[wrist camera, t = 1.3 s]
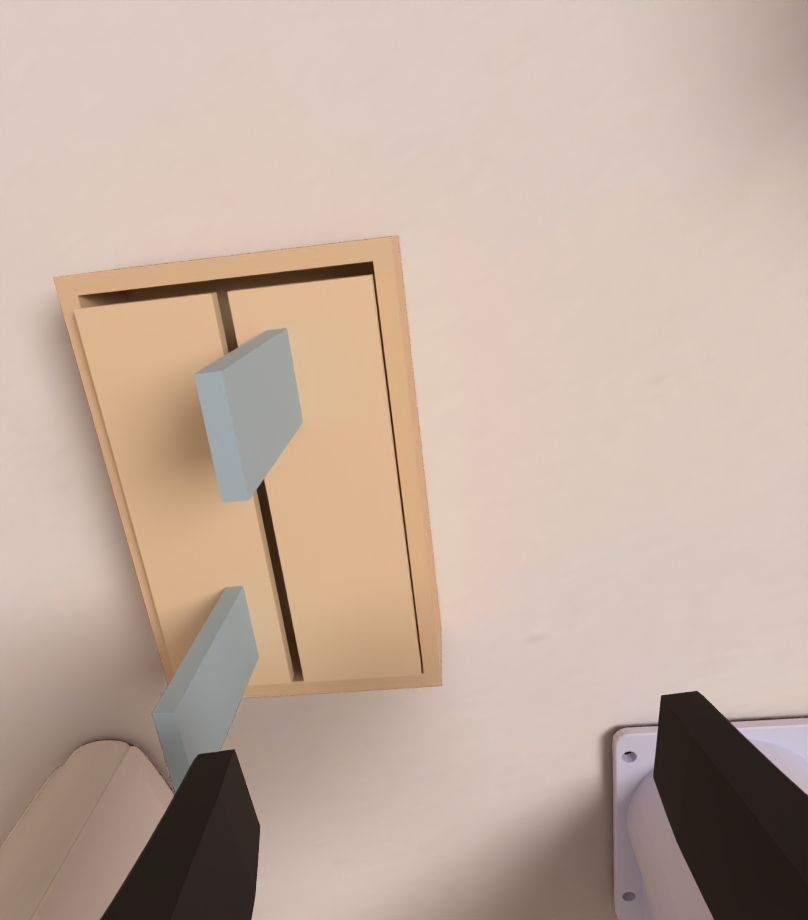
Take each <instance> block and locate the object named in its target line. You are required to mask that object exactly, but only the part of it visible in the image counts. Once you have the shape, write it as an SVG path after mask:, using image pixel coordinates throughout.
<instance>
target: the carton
mask: <svg viewBox="0 0 808 920" xmlns="http://www.w3.org/2000/svg"><path fill="white" fill-rule="evenodd" d="M371 274H372V275H373V283H374V291H375V299H376V307H377V315H378V323H379V331H380V339H381V347H382V355H383V363H384V371H385V379H386V387H387V395H388V403H389V411H390V419H391V427H392V435H393V443H394V451H395V459H396V468H397V476H398V484H399V492H400V500H401V508H402V516H403V524H404V532H405V540H406V548H407V556H408V564H409V572H410V580H411V588H412V596H413V604H414V612H415V620H416V628H417V636H418V644H419V652H420V660H421V675H413V676H397V677H381V678H365V679H349V680H333V681H317V682H304V678H303V673H302V668H301V663H300V658H299V653H298V648H297V642H296V637H295V632H294V627H293V622H292V617H291V612H290V607H289V602H288V597H287V592H286V587H285V582H284V577H283V572H282V567H281V561H280V556H279V551H278V546H277V541H276V536H275V531H274V526H273V521H272V516H271V511H270V506H269V501H268V496H267V491H266V486H265V481H264V479H263V481H262V482H261V484H260V485H259V487H258V488H257V494H258V499H259V504H260V509H261V514H262V519H263V524H264V529H265V534H266V539H267V544H268V549H269V554H270V558H271V563H272V568H273V573H274V578H275V583H276V588H277V593H278V598H279V603H280V608H281V613H282V618H283V622H284V627H285V632H286V637H287V642H288V647H289V652H290V657H291V662H292V667H293V672H294V676H293V679H292V682H291V683H285V684H270V685H254V686H247V687H246V689H245V692H244V694H243V697H242V698H255V697H271V696H288V695H304V694H321V693H337V692H353V691H370V690H386V689H402V688H419V687H435V686H442V640H441V621H440V612H439V603H438V593H437V584H436V575H435V566H434V557H433V548H432V539H431V530H430V520H429V511H428V502H427V493H426V484H425V475H424V466H423V457H422V447H421V438H420V429H419V420H418V411H417V402H416V393H415V384H414V374H413V365H412V356H411V347H410V338H409V329H408V320H407V311H406V301H405V292H404V283H403V274H402V265H401V256H400V247H399V238H398V236H390V237H382V238H374V239H365V240H357V241H349V242H340V243H332V244H323V245H315V246H307V247H298V248H290V249H282V250H273V251H265V252H257V253H248V254H240V255H231V256H223V257H215V258H206V259H198V260H190V261H181V262H173V263H164V264H156V265H148V266H139V267H131V268H123V269H114V270H106V271H98V272H90V273H83V274H75V275H67V276H59V277H53V280H54V283H55V287H56V290H57V294H58V297H59V301H60V304H61V308H62V311H63V315H64V318H65V322H66V326H67V329H68V333H69V336H70V340H71V343H72V347H73V350H74V354H75V357H76V361H77V365H78V368H79V372H80V375H81V379H82V382H83V386H84V389H85V393H86V396H87V400H88V404H89V407H90V411H91V414H92V418H93V421H94V425H95V428H96V432H97V435H98V439H99V443H100V446H101V450H102V453H103V457H104V460H105V464H106V467H107V471H108V474H109V478H110V482H111V485H112V489H113V492H114V496H115V499H116V503H117V506H118V510H119V513H120V517H121V521H122V524H123V528H124V531H125V535H126V538H127V542H128V545H129V549H130V552H131V556H132V560H133V563H134V567H135V570H136V574H137V577H138V581H139V584H140V588H141V591H142V595H143V599H144V602H145V606H146V609H147V613H148V616H149V620H150V623H151V627H152V630H153V634H154V638H155V641H156V645H157V648H158V652H159V655H160V659H161V662H162V666H163V669H164V673H165V677H166V680H167V684H168V685H169V683H170V682H171V680H172V678H173V677H174V672H173V668H172V665H171V661H170V657H169V654H168V650H167V647H166V643H165V639H164V636H163V632H162V629H161V625H160V621H159V618H158V614H157V610H156V607H155V603H154V600H153V596H152V592H151V589H150V585H149V582H148V578H147V574H146V571H145V567H144V563H143V560H142V556H141V553H140V549H139V545H138V542H137V538H136V534H135V531H134V527H133V524H132V520H131V516H130V513H129V509H128V506H127V502H126V498H125V495H124V491H123V487H122V484H121V480H120V477H119V473H118V469H117V466H116V462H115V459H114V455H113V451H112V448H111V444H110V440H109V437H108V433H107V430H106V426H105V422H104V419H103V415H102V411H101V408H100V404H99V401H98V397H97V393H96V390H95V386H94V383H93V379H92V375H91V372H90V368H89V364H88V361H87V357H86V354H85V350H84V346H83V343H82V339H81V336H80V332H79V328H78V325H77V321H76V317H75V314H74V309H78V308H84V307H92V306H101V305H110V304H118V303H127V302H136V301H145V300H153V299H162V298H171V297H179V296H188V295H197V294H205V293H214V292H217V297H218V302H219V307H220V312H221V317H222V322H223V327H224V332H225V337H226V342H227V347H228V352H229V353H230V352H231V351H233V350H235V349H236V348H238V344H237V339H236V334H235V329H234V324H233V319H232V314H231V308H230V303H229V298H228V293H227V292H229V291H232V290H240V289H249V288H258V287H266V286H275V285H284V284H292V283H301V282H310V281H319V280H327V279H336V278H345V277H353V276H362V275H371Z"/></svg>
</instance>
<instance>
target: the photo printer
mask: <svg viewBox="0 0 808 920" xmlns="http://www.w3.org/2000/svg"><path fill="white" fill-rule="evenodd" d="M173 797H174V794H173V793H172V791H171V790H170V788H169V787H168V785H167V784H166V782H165V781H164V780H163V778H162V777H161V775H160V774H159V773H158V771H157V770H156V769H155V767H154V766H153V765H152V763H151V762H150V761H149V759H148V758H147V757H146V756H145V755H144V754H143V753H142V752H141V751H140V750H139V748H137V747H135V746H129V744H127V743H125V742H122V741H115V740H102V741H95V742H91V743H88V744H85V745H83V746H81V747H79V748H78V749H76V750H75V751H74V752H73V753H72V754H71V755H70V756H69V758H68V759H67V761H66V762H65V764H64V765H63V766H62V767H58V768H57V769H55V770H54V772H53V773H52V774H51V775H50V776H49V777H48V779H47V780H46V782H45V783H44V784H43V786H42V787H41V788H40V790H39V792H38V793H37V794H36V796H35V797H34V799H33V800H32V802H31V803H30V805H29V806H28V807H27V809H26V810H25V812H24V813H23V815H22V816H21V818H20V819H19V820H18V822H17V824H16V825H15V826H14V828H13V829H12V831H11V833H10V834H9V835H8V837H7V838H6V840H5V841H4V843H3V844H2V846H1V847H0V920H100V918H101V917H102V915H103V914H104V912H105V911H106V909H107V908H108V906H109V905H110V903H111V902H112V900H113V898H114V897H115V895H116V894H117V892H118V890H119V889H120V887H121V885H122V884H123V882H124V880H125V879H126V877H127V876H128V874H129V872H130V871H131V869H132V867H133V866H134V864H135V862H136V861H137V859H138V857H139V856H140V854H141V852H142V851H143V849H144V847H145V846H146V844H147V842H148V841H149V839H150V837H151V836H152V834H153V832H154V830H155V829H156V827H157V825H158V823H159V822H160V820H161V818H162V816H163V815H164V813H165V811H166V809H167V807H168V806H169V804H170V802H171V800H172V799H173Z"/></svg>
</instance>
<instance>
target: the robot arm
mask: <svg viewBox="0 0 808 920" xmlns="http://www.w3.org/2000/svg"><path fill="white" fill-rule="evenodd" d="M628 751H631V753H630V754H627V755H626V754H624V753H625V752H628ZM259 838H260V825H259V822H258V819H257V816H256V813H255V810H254V806H253V803H252V800H251V797H250V794H249V791H248V788H247V785H246V782H245V779H244V776H243V773H242V770H241V767H240V764H239V761H238V758H237V755H236V752H235V749H234V750H226V751H218V752H210V753H203V754H198V755H197V756H196V758H195V759H194V760H193V762H192V764H191V765H190V767H189V769H188V771H187V773H186V775H185V777H184V778H183V780H182V782H181V784H180V786H179V788H178V789H177V791H176V793H175V795H174V797H173V799H172V800H171V802H170V804H169V806H168V807H167V809H166V811H165V813H164V815H163V816H162V818H161V820H160V822H159V823H158V825H157V827H156V829H155V830H154V832H153V834H152V836H151V837H150V839H149V841H148V842H147V844H146V846H145V847H144V849H143V851H142V852H141V854H140V856H139V857H138V859H137V861H136V862H135V864H134V866H133V867H132V869H131V871H130V872H129V874H128V876H127V877H126V879H125V880H124V882H123V884H122V885H121V887H120V889H119V890H118V892H117V894H116V895H115V897H114V898H113V900H112V902H111V903H110V905H109V906H108V908H107V909H106V911H105V912H104V914H103V915H102V917H101V918H100V920H251V918H252V912H253V906H254V900H255V893H256V880H257V868H258V853H259ZM613 841H614V908H615V912H616V916H617V918H618V919H619V920H808V718H796V719H778V720H759V721H741V722H729V721H728V720H727V719H726V718H725V717H724V716H723V715H722V714H721V713H720V712H719V711H718V710H717V709H716V708H715V707H714V706H713V705H712V704H711V703H710V702H709V701H708V700H707V699H706V698H705V697H704V696H703V695H702V694H700V693H699V692H698V691H693V692H685V693H677V694H669V695H662V696H661V702H660V712H659V722H658V726H649V727H631V728H623V729H620V730H619V731H617V732H616V733H615V734H614V736H613Z"/></svg>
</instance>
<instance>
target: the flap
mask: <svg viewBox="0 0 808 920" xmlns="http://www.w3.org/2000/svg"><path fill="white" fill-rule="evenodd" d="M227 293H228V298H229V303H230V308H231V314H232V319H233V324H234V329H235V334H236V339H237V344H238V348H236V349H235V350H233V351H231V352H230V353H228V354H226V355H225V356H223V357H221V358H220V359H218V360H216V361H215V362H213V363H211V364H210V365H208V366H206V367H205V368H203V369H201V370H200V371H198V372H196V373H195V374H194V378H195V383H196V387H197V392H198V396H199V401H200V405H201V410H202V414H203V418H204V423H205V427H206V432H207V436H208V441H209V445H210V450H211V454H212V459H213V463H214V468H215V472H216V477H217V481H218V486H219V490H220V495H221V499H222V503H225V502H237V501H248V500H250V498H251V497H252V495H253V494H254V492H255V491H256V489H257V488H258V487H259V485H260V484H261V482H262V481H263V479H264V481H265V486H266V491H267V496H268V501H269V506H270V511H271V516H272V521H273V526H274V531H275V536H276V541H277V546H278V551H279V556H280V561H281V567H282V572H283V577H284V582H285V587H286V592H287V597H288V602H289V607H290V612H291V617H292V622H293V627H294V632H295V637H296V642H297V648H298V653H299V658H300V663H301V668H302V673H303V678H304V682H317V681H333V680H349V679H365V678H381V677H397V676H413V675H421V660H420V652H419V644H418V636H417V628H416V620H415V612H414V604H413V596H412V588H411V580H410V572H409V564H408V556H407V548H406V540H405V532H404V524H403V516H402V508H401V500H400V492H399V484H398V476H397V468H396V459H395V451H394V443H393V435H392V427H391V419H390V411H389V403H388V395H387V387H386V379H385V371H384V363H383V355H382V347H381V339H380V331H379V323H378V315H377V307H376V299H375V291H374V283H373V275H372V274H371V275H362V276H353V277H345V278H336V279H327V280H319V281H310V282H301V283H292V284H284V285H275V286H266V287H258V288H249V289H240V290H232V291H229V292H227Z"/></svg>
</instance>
